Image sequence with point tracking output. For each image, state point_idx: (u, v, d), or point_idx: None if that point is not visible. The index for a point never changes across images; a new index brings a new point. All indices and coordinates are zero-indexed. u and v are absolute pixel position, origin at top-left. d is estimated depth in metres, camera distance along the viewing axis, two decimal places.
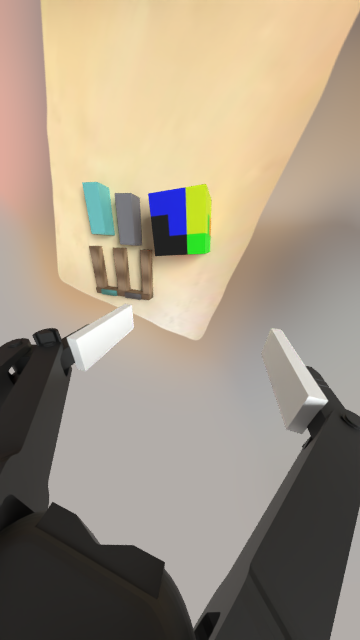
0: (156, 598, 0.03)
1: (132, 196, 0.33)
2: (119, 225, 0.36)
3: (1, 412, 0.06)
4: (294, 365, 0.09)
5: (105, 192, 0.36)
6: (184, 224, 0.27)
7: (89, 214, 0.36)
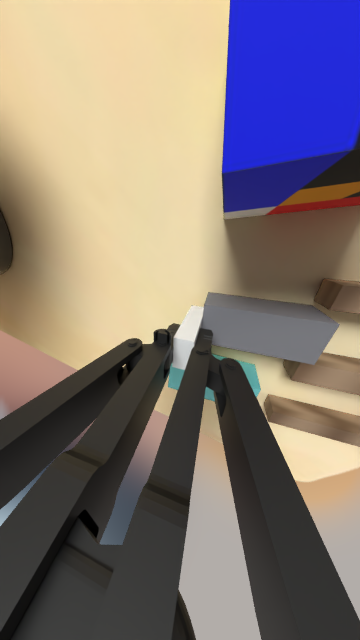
0: (156, 598, 0.03)
1: (209, 303, 0.14)
2: (266, 352, 0.14)
3: (113, 398, 0.07)
4: (191, 326, 0.12)
5: None
6: None
7: (214, 399, 0.18)
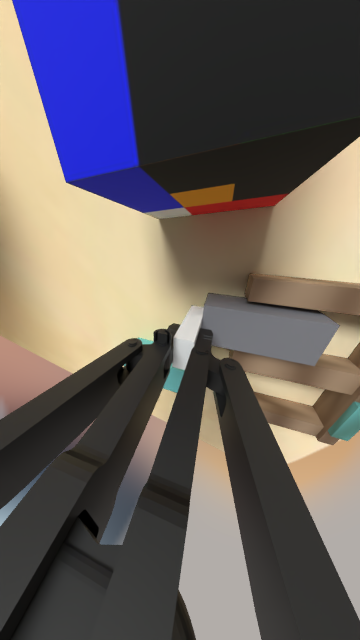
0: (156, 598, 0.03)
1: (209, 303, 0.13)
2: (266, 353, 0.14)
3: (114, 398, 0.06)
4: (191, 326, 0.12)
5: None
6: None
7: (165, 387, 0.20)
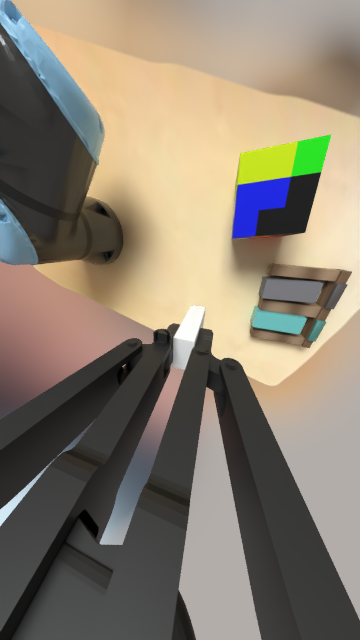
0: (156, 598, 0.03)
1: (268, 279, 0.32)
2: (293, 299, 0.32)
3: (113, 398, 0.07)
4: (192, 326, 0.12)
5: None
6: (277, 182, 0.21)
7: (280, 329, 0.35)
